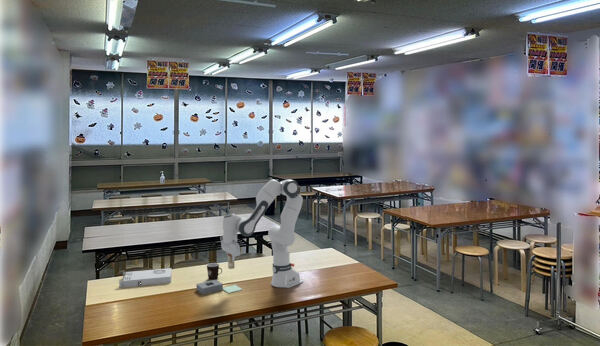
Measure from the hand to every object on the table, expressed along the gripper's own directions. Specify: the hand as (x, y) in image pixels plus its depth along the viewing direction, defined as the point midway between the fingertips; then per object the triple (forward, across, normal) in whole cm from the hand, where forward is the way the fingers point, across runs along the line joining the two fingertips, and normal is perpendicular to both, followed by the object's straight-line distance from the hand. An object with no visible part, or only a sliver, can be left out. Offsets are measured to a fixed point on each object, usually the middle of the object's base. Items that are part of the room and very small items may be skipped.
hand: (231, 259), depth 269 cm
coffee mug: (+20, +25, +2) cm, 32 cm away
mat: (+20, 0, +1) cm, 20 cm away
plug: (+6, 0, 0) cm, 6 cm away
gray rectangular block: (+20, +8, +13) cm, 25 cm away
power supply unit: (+20, +51, +40) cm, 68 cm away
